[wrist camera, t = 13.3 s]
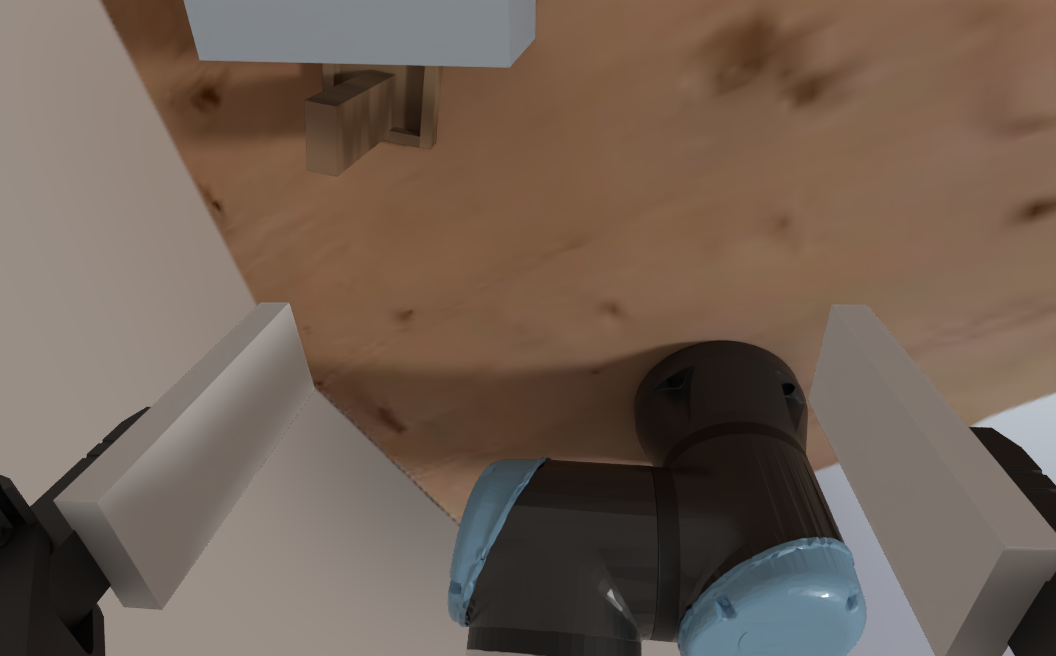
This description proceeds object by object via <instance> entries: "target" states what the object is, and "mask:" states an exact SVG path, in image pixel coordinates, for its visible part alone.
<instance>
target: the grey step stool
mask: <svg viewBox="0 0 1056 656" xmlns="http://www.w3.org/2000/svg"><path fill="white" fill-rule="evenodd" d="M184 4H185V8H186V11H187V15H188V19H189V23H190V26H191V30H192V34H193V37H194V41H195V45H196V49H197V52H198V56H199V60H208V61H251V62H294V63H336V64H379V65H422V66H464V67H507V68H510V66H511V65H512V64H513V63H514V62H515V61H516V60H517V58H518V57H519V56H520V55H521V54H522V53H523V52H524V50H525V49H526V48H527V47H528V46H529V45H530V44H531V43H532V41H533V40H534V39H535V23H536V0H184Z"/></svg>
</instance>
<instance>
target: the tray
mask: <svg viewBox="0 0 1056 656" xmlns="http://www.w3.org/2000/svg"><path fill="white" fill-rule="evenodd" d="M322 73H323V92H321V93H319V94H317V95H315V96H312V97H310V98H308V99H306V100H304V106H305V132H306V158H307V171H311V172H316V173H321V174H326V175H330V176H335V177H337V176H339V175H340V174H341V173H342V172H344V171H345V170H346V169H347V168H349V167H350V166H351V165H352V164H354V163H355V162H356V161H357V160H358V159H360V158H361V157H362V156H363V155H365V154H366V153H367V152H368V151H370V150H371V149H372V148H373V147H375V146H376V145H377V144H378V143H380V142H381V141H382V140H383V141H388V142H393V143H398V144H403V145H408V146H413V147H418V148H423V149H428V150H430V149H431V148H432V147H433V146H434V145H435V144H436V134H437V122H438V110H439V98H440V86H441V74H442V66H422V65H379V64H336V63H322Z"/></svg>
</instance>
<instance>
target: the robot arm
mask: <svg viewBox="0 0 1056 656" xmlns="http://www.w3.org/2000/svg"><path fill="white" fill-rule="evenodd" d="M314 390H315V388H314V384H313V381H312V378H311V374H310V371H309V368H308V364H307V361H306V357H305V354H304V351H303V347H302V344H301V341H300V337H299V334H298V331H297V327H296V324H295V320H294V317H293V314H292V310H291V307H290V304H289V303H273V302H261V303H260V304H259V305H258V306H257V307H256V308H255V309H254V310H253V311H252V312H251V313H249V314H248V315H247V316H246V317H245V318H244V319H243V320H242V321H241V322H240V323H239V324H238V325H237V326H236V327H235V328H234V329H233V330H232V331H230V332H229V333H228V334H227V335H226V336H225V337H224V338H223V339H222V340H221V341H220V342H219V343H218V344H217V345H216V346H215V347H214V348H213V349H212V350H211V351H209V353H208V354H206V355H205V356H204V357H203V358H202V359H201V360H200V361H199V362H198V363H197V364H196V365H195V366H194V367H193V368H192V369H191V370H190V371H188V373H186V374H185V376H183V377H182V378H181V379H180V380H179V381H178V382H177V383H176V384H175V385H174V386H173V387H172V388H171V389H170V390H169V391H168V392H166V394H164V395H163V396H162V397H161V398H160V399H159V400H158V401H157V402H156V403H155V404H154V405H153V406H152V407H146V408H144V409H143V410H141V411H139V412H138V413H136V414H134V415H133V416H131V417H129V418H128V419H126V420H124V421H123V422H121V423H120V424H119V425H118V426H117V427H116V428H115V429H114V430H113V431H111V433H109V434H108V435H107V436H106V437H105V438H104V439H103V442H102V443H101V444H100V443H99V444H97V445H96V446H95V447H94V448H93V449H92V450H91V451H90V452H89V453H88V454H87V457H86V458H82V459H81V460H80V461H79V462H78V463H77V464H76V465H75V466H74V467H73V468H71V470H69V471H68V472H67V473H66V474H65V475H64V476H63V477H62V478H61V479H60V480H59V481H57V482H56V483H55V484H54V485H53V486H52V487H51V488H50V489H49V490H48V491H47V492H46V493H44V494H43V495H42V496H41V497H40V498H39V499H38V500H37V501H36V502H35V503H34V504H33V505H31V506H30V507H29V505H28V504H27V503H26V501H25V500H24V498H23V497H22V495H20V492H19V491H18V490H17V488H16V487H15V485H14V484H13V482H12V481H11V480H10V478H7V477H4V476H2V475H0V656H105V636H104V616H103V614H102V611H101V609H100V607H99V606H98V604H97V602H98V601H99V600H100V598H101V597H102V596H103V595H104V593H105V592H106V591H107V590H108V588H109V587H111V588H112V590H113V591H114V593H115V594H116V596H117V597H118V599H119V600H120V602H121V604H122V605H123V606H124V607H131V608H145V609H159V610H162V609H163V608H164V606H165V605H166V603H167V602H168V601H169V599H170V598H171V596H172V595H173V594H174V592H175V591H176V589H177V588H178V586H179V585H180V583H181V582H182V581H183V579H184V578H185V576H186V575H187V573H188V572H189V570H190V569H191V568H192V566H193V565H194V563H195V562H196V560H197V559H198V558H199V556H200V555H201V553H202V551H203V550H204V549H205V547H206V546H207V545H208V543H209V542H210V540H211V539H212V537H213V536H214V534H215V533H216V532H217V530H218V529H219V527H220V526H221V524H222V523H223V521H224V520H225V519H226V517H227V516H228V514H229V513H230V511H231V510H232V508H233V507H234V505H235V504H236V503H237V501H238V500H239V498H240V497H241V496H242V494H243V493H244V491H245V490H246V488H247V487H248V485H249V484H250V482H251V481H252V480H253V478H254V477H255V475H256V474H257V472H258V471H259V470H260V468H261V467H262V465H263V464H264V462H265V461H266V460H267V458H268V457H269V455H270V454H271V452H272V451H273V449H274V448H275V446H276V445H277V444H278V442H279V440H280V439H281V438H282V436H283V435H284V434H285V432H286V431H287V429H288V428H289V426H290V425H291V424H292V422H293V421H294V419H295V418H296V416H297V415H298V413H299V412H300V411H301V409H302V408H303V406H304V405H305V403H306V402H307V400H308V399H309V398H310V396H311V394H312V393H313V392H314ZM808 401H809V403H810V405H811V407H812V409H813V411H814V413H815V415H816V417H817V419H818V421H819V423H820V425H821V427H822V429H823V431H824V433H825V435H826V437H827V439H828V441H829V443H830V445H831V447H832V449H833V451H834V453H835V455H836V457H837V459H838V461H839V463H840V465H841V467H842V469H843V471H844V473H845V475H846V477H847V479H848V481H849V483H850V485H851V487H852V489H853V491H854V493H855V495H856V497H857V499H858V501H859V503H860V505H861V507H862V509H863V511H864V513H865V515H866V517H867V519H868V521H869V523H870V525H871V527H872V529H873V531H874V533H875V535H876V537H877V539H878V541H879V543H880V545H881V547H882V549H883V551H884V553H885V555H886V557H887V559H888V561H889V563H890V565H891V568H892V570H893V572H894V574H895V576H896V578H897V580H898V581H899V583H900V585H901V588H902V590H903V591H904V594H905V596H906V598H907V600H908V601H909V604H910V606H911V607H912V610H913V612H914V614H915V616H916V617H917V620H918V622H919V624H920V626H921V628H922V629H923V632H924V633H925V636H926V638H927V640H928V642H929V644H930V646H931V648H932V650H933V652H934V654H935V656H1002V655H1003V653H1004V652H1005V650H1006V649H1007V647H1008V646H1009V647H1010V648H1011V650H1012V651H1013V653H1014V655H1015V656H1056V485H1055V484H1054V483H1053V482H1052V481H1051V479H1050V478H1049V477H1048V476H1047V475H1043V474H1042V470H1041V468H1040V467H1039V466H1038V465H1037V464H1036V463H1035V462H1034V461H1033V460H1032V458H1030V456H1029V455H1028V454H1027V453H1026V452H1025V451H1024V450H1023V449H1022V447H1020V446H1019V445H1017V444H1015V443H1014V442H1012V441H1011V440H1009V439H1008V438H1006V437H1005V436H1003V435H1002V434H1000V433H999V432H997V431H996V430H994V429H993V428H983V427H968V426H967V425H966V424H965V422H964V421H963V420H962V419H961V417H960V416H959V415H958V414H957V413H956V411H955V410H954V409H953V408H952V407H951V405H950V404H949V403H948V402H947V401H946V399H945V398H944V397H943V396H942V395H941V393H940V392H939V391H938V390H937V388H936V387H935V386H934V385H933V384H932V382H931V381H930V380H929V379H928V378H927V376H926V375H925V374H924V373H923V372H922V370H921V369H920V368H919V367H918V365H917V364H916V363H915V362H914V361H913V359H912V358H911V357H910V356H909V355H908V353H907V352H906V351H905V350H904V349H903V347H902V346H901V345H900V344H899V342H898V341H897V340H896V339H895V338H894V336H893V335H892V334H891V333H890V332H889V330H888V329H887V328H886V327H885V326H884V324H883V323H882V322H881V321H880V320H879V318H878V317H877V316H876V315H875V313H874V312H873V311H872V310H871V309H870V307H869V306H868V305H831V310H830V314H829V318H828V322H827V326H826V330H825V334H824V338H823V342H822V346H821V351H820V355H819V359H818V363H817V367H816V371H815V375H814V379H813V383H812V388H811V392H810V396H809V400H808ZM634 414H635V425H636V432H637V435H638V439H639V441H640V444H641V446H642V448H643V449H644V451H645V453H646V455H647V456H648V458H649V460H650V461H651V463H652V465H653V466H642V465H626V464H609V463H592V462H576V461H559V460H551V458H549V457H541V458H540V459H503V460H499V461H496V462H494V463H492V464H491V465H489V466H488V467H487V468H486V469H485V470H484V471H483V472H482V474H481V475H480V477H479V479H478V480H477V482H476V483H475V485H474V488H473V490H472V492H471V494H470V497H469V499H468V502H467V505H466V508H465V511H464V514H463V517H462V520H461V524H460V527H459V531H458V535H457V540H456V544H455V548H454V553H453V558H452V563H451V570H450V577H451V582H450V587H449V591H448V610H449V614H450V617H451V618H452V619H453V621H455V622H457V623H459V624H460V625H461V626H462V627H469V634H468V643H467V652H466V655H467V656H641V642H642V640H655V641H666V642H676V643H677V644H678V649H679V651H680V654H681V656H846V655H847V654H848V653H849V652H850V651H851V650H852V649H853V647H854V646H855V645H856V644H857V642H858V640H859V639H860V637H861V635H862V633H863V630H864V627H865V623H866V603H865V599H864V596H863V593H862V590H861V586H860V583H859V580H858V578H857V574H856V571H855V568H854V560H853V556H852V554H851V551H850V550H849V548H848V547H847V546H846V545H845V543H844V541H843V539H842V536H841V534H840V532H839V530H838V527H837V525H836V523H835V520H834V518H833V516H832V513H831V511H830V509H829V506H828V504H827V502H826V500H825V497H824V495H823V492H822V490H821V488H820V486H819V483H818V481H817V479H816V476H815V474H814V472H813V469H812V467H811V465H810V463H809V461H808V458H807V456H806V440H807V421H808V410H807V404H806V399H805V396H804V393H803V391H802V389H801V387H800V385H799V383H798V381H797V379H796V377H795V375H794V373H793V372H792V370H791V369H790V368H789V367H788V365H787V364H786V363H784V362H783V361H782V360H781V359H780V358H779V357H777V356H776V355H774V354H772V353H771V352H769V351H767V350H765V349H762V348H760V347H757V346H754V345H750V344H746V343H740V342H729V341H720V342H709V343H703V344H698V345H695V346H691V347H688V348H685V349H683V350H680V351H678V352H676V353H674V354H672V355H670V356H669V357H667V358H666V359H664V360H663V361H661V362H660V363H659V364H658V365H656V366H655V367H654V368H653V369H652V370H651V371H650V372H649V373H648V375H647V376H646V377H645V379H644V380H643V382H642V383H641V385H640V387H639V389H638V392H637V395H636V398H635V405H634Z"/></svg>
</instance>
